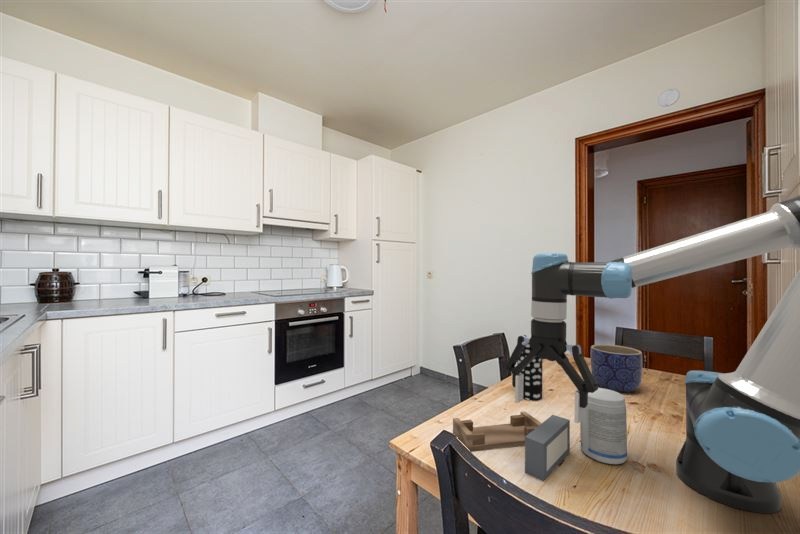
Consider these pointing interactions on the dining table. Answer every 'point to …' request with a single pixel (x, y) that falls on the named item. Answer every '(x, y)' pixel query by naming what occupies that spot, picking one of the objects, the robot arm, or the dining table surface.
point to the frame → (547, 447)
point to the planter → (616, 367)
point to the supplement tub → (604, 427)
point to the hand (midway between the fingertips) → (546, 410)
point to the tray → (495, 432)
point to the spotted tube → (531, 376)
